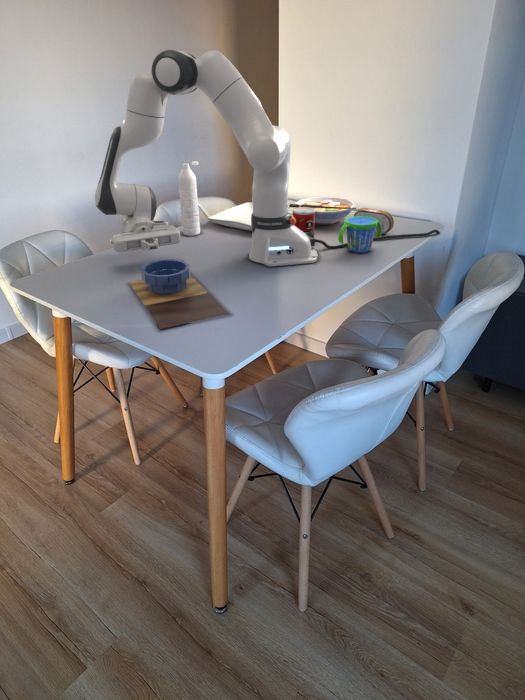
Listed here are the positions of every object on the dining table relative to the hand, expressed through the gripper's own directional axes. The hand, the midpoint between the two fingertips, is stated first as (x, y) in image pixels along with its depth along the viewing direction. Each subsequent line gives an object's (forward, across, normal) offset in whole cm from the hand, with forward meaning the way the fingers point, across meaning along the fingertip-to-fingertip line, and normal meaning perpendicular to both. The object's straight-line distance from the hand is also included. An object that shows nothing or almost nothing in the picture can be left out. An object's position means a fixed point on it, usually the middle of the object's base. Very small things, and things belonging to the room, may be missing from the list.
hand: (153, 247), depth 150 cm
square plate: (-38, +50, +9) cm, 63 cm away
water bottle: (-36, +24, +9) cm, 45 cm away
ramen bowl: (-24, +74, +9) cm, 78 cm away
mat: (+27, 0, +9) cm, 29 cm away
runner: (+11, 0, +9) cm, 14 cm away
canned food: (-9, +56, +9) cm, 57 cm away
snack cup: (+9, +67, +9) cm, 68 cm away
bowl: (+11, 0, +9) cm, 14 cm away
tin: (-5, +83, +9) cm, 83 cm away
